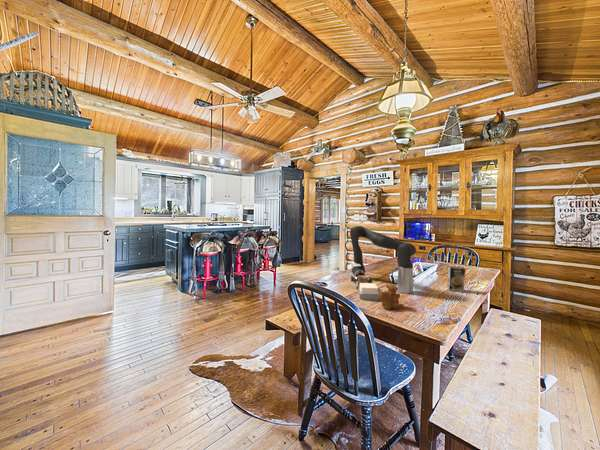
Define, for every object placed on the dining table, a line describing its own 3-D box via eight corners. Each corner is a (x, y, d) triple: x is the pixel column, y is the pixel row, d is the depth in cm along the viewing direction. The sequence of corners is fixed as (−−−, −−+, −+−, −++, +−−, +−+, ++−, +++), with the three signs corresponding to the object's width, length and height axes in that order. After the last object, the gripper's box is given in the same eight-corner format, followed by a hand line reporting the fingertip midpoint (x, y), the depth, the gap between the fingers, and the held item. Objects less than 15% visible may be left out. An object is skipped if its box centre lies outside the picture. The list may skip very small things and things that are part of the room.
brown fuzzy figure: (405, 307, 149) (406, 285, 148) (389, 312, 141) (389, 289, 140) (390, 301, 157) (391, 280, 156) (374, 306, 150) (375, 284, 148)
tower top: (374, 289, 169) (375, 283, 169) (377, 294, 159) (378, 288, 159) (359, 288, 170) (359, 282, 170) (361, 293, 160) (361, 287, 160)
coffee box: (449, 291, 177) (450, 268, 176) (446, 288, 184) (448, 266, 182) (464, 292, 175) (465, 269, 173) (461, 289, 181) (462, 267, 180)
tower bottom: (375, 295, 169) (375, 289, 169) (378, 301, 159) (378, 295, 158) (358, 294, 171) (358, 288, 171) (359, 300, 160) (360, 294, 160)
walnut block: (364, 289, 179) (365, 275, 179) (365, 291, 174) (366, 277, 174) (357, 289, 180) (358, 275, 179) (358, 291, 175) (358, 277, 174)
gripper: (350, 270, 192) (351, 276, 176) (370, 271, 190) (372, 277, 174) (350, 280, 193) (351, 287, 177) (369, 281, 191) (372, 288, 175)
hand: (361, 282), depth 176 cm, fingers open, 8 cm apart
